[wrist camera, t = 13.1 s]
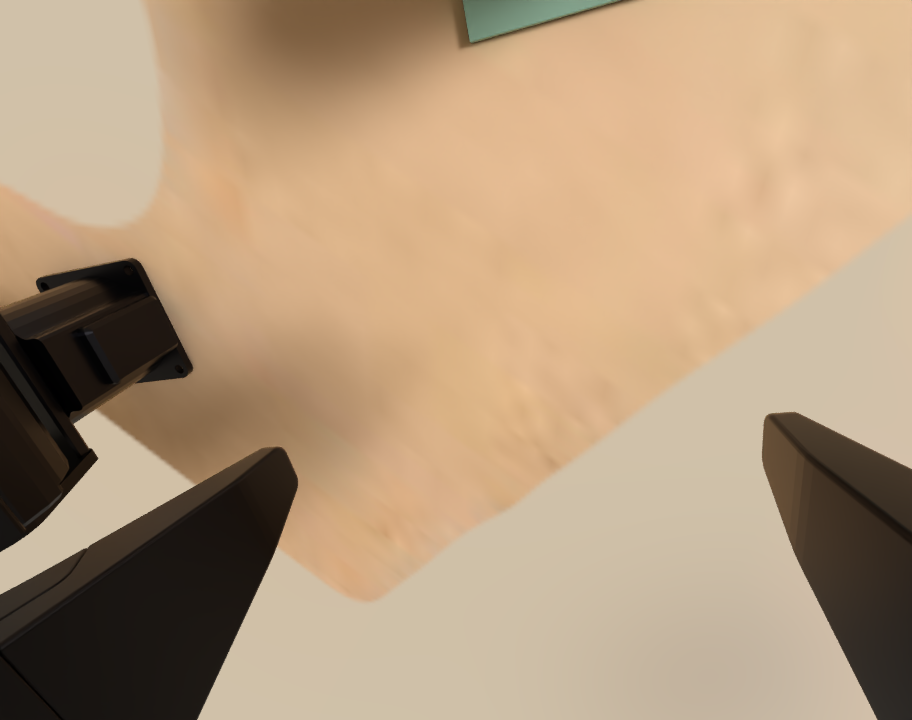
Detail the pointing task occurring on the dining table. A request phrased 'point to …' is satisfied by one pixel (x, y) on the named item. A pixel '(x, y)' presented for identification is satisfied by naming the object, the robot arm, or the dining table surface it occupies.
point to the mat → (518, 14)
